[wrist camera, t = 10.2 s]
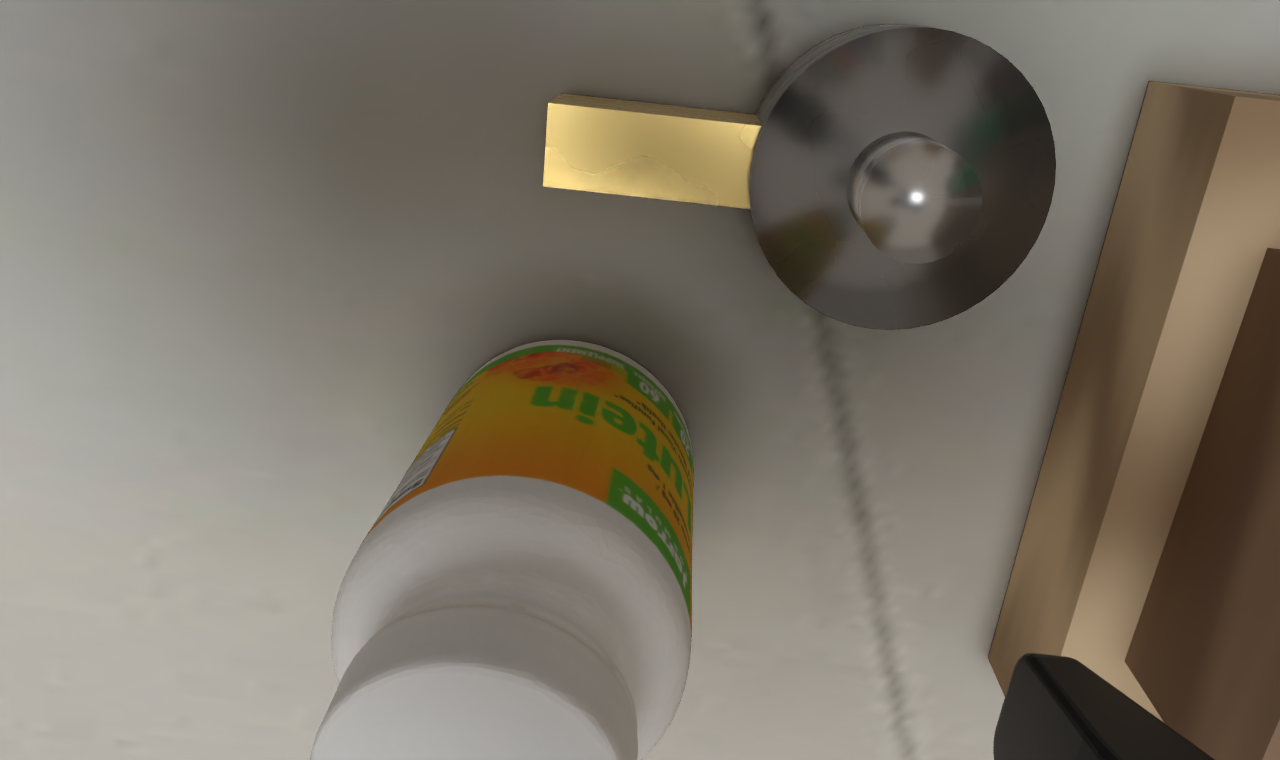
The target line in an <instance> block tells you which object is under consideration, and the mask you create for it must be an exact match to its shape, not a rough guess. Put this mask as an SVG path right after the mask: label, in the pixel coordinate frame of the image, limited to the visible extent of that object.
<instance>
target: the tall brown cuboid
mask: <svg viewBox="0 0 1280 760" xmlns="http://www.w3.org/2000/svg"><path fill="white" fill-rule="evenodd" d="M1125 663H1126V664H1127V666H1128V667H1129V669H1130V671H1131V672H1132V674H1133V675H1134V677H1135V678H1136V680H1137V681H1138V683H1139V684H1140V686H1141V688H1142V689H1143V691H1144V692H1145V694H1146V695H1147V697H1148V698H1149V700H1150V701H1151V703H1152V705H1153V706H1154V708H1155V709H1156V711H1157V712H1158V714H1159V715H1160V717H1161V718H1162V720H1163V722H1164V723H1165V724H1166V725H1168V726H1169V727H1171V728H1172V729H1173V730H1175V731H1176V732H1178V733H1179V734H1180V735H1182V736H1183V737H1184V738H1186V739H1187V740H1189V741H1190V742H1191V743H1193V744H1194V745H1196V746H1197V747H1198V748H1200V749H1201V750H1202V751H1204V752H1205V753H1207V754H1208V755H1209V756H1211V757H1212V758H1214V759H1215V760H1280V249H1275V248H1267V250H1266V253H1265V256H1264V259H1263V262H1262V265H1261V267H1260V270H1259V273H1258V276H1257V279H1256V282H1255V285H1254V288H1253V291H1252V293H1251V296H1250V299H1249V302H1248V305H1247V308H1246V311H1245V314H1244V317H1243V319H1242V322H1241V325H1240V328H1239V331H1238V334H1237V337H1236V340H1235V343H1234V345H1233V348H1232V351H1231V354H1230V357H1229V360H1228V363H1227V366H1226V369H1225V372H1224V374H1223V377H1222V380H1221V383H1220V386H1219V389H1218V392H1217V395H1216V398H1215V400H1214V403H1213V406H1212V409H1211V412H1210V415H1209V418H1208V421H1207V424H1206V426H1205V429H1204V432H1203V435H1202V438H1201V441H1200V444H1199V447H1198V450H1197V452H1196V455H1195V458H1194V461H1193V464H1192V467H1191V470H1190V473H1189V476H1188V478H1187V481H1186V484H1185V487H1184V490H1183V493H1182V496H1181V499H1180V502H1179V505H1178V507H1177V510H1176V513H1175V516H1174V519H1173V522H1172V525H1171V528H1170V531H1169V533H1168V536H1167V539H1166V542H1165V545H1164V548H1163V551H1162V554H1161V557H1160V559H1159V562H1158V565H1157V568H1156V571H1155V574H1154V577H1153V580H1152V583H1151V585H1150V588H1149V591H1148V594H1147V597H1146V600H1145V603H1144V606H1143V609H1142V612H1141V614H1140V617H1139V620H1138V623H1137V626H1136V629H1135V632H1134V635H1133V638H1132V640H1131V643H1130V646H1129V649H1128V652H1127V655H1126V658H1125Z"/></svg>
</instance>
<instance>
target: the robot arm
mask: <svg viewBox="0 0 1280 760" xmlns="http://www.w3.org/2000/svg"><path fill="white" fill-rule="evenodd" d="M993 751H994V760H1215V759H1214V758H1212V757H1211V756H1209V755H1208V754H1207V753H1205V752H1204V751H1202V750H1201V749H1200V748H1198V747H1197V746H1196V745H1194V744H1193V743H1191V742H1190V741H1189V740H1187V739H1186V738H1184V737H1183V736H1182V735H1180V734H1179V733H1178V732H1176V731H1175V730H1173V729H1172V728H1171V727H1169V726H1168V725H1166V724H1165V723H1164V722H1162V721H1161V720H1160V719H1158V718H1157V717H1155V716H1154V715H1153V714H1151V713H1150V712H1148V711H1147V710H1146V709H1144V708H1143V707H1142V706H1140V705H1139V704H1137V703H1136V702H1135V701H1133V700H1132V699H1130V698H1129V697H1128V696H1126V695H1125V694H1124V693H1122V692H1121V691H1119V690H1118V689H1117V688H1115V687H1114V686H1112V685H1111V684H1110V683H1108V682H1107V681H1106V680H1104V679H1103V678H1101V677H1100V676H1099V675H1097V674H1096V673H1095V672H1093V671H1092V670H1090V669H1089V668H1088V667H1086V666H1085V665H1083V664H1082V663H1081V662H1079V661H1078V660H1076V659H1073V658H1070V657H1065V656H1056V655H1047V654H1038V653H1026V654H1024V655H1023V656H1021V657H1020V658H1019V659H1018V661H1017V662H1016V664H1015V666H1014V669H1013V672H1012V676H1011V679H1010V682H1009V686H1008V689H1007V693H1006V696H1005V699H1004V703H1003V706H1002V710H1001V713H1000V716H999V720H998V723H997V727H996V730H995V735H994V749H993Z"/></svg>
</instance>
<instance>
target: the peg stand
mask: <svg viewBox="0 0 1280 760" xmlns="http://www.w3.org/2000/svg"><path fill="white" fill-rule="evenodd" d="M1267 248H1275V249H1280V95H1275V94H1266V93H1256V92H1247V91H1238V90H1228V89H1219V88H1210V87H1200V86H1191V85H1182V84H1173V83H1163V82H1154V81H1149V84H1148V88H1147V92H1146V95H1145V99H1144V102H1143V106H1142V109H1141V113H1140V117H1139V120H1138V124H1137V127H1136V131H1135V134H1134V138H1133V142H1132V145H1131V149H1130V152H1129V156H1128V159H1127V163H1126V167H1125V170H1124V174H1123V177H1122V181H1121V185H1120V188H1119V192H1118V195H1117V199H1116V202H1115V206H1114V210H1113V213H1112V217H1111V220H1110V224H1109V227H1108V231H1107V235H1106V238H1105V242H1104V245H1103V249H1102V252H1101V256H1100V260H1099V263H1098V267H1097V270H1096V274H1095V278H1094V281H1093V285H1092V288H1091V292H1090V295H1089V299H1088V303H1087V306H1086V310H1085V313H1084V317H1083V320H1082V324H1081V328H1080V331H1079V335H1078V338H1077V342H1076V346H1075V349H1074V353H1073V356H1072V360H1071V363H1070V367H1069V371H1068V374H1067V378H1066V381H1065V385H1064V388H1063V392H1062V396H1061V399H1060V403H1059V406H1058V410H1057V413H1056V417H1055V421H1054V424H1053V428H1052V431H1051V435H1050V439H1049V442H1048V446H1047V449H1046V453H1045V456H1044V460H1043V464H1042V467H1041V471H1040V474H1039V478H1038V481H1037V485H1036V489H1035V492H1034V496H1033V499H1032V503H1031V506H1030V510H1029V514H1028V517H1027V521H1026V524H1025V528H1024V532H1023V535H1022V539H1021V542H1020V546H1019V549H1018V553H1017V557H1016V560H1015V564H1014V567H1013V571H1012V574H1011V578H1010V582H1009V585H1008V589H1007V592H1006V596H1005V599H1004V603H1003V607H1002V610H1001V614H1000V617H999V621H998V625H997V628H996V632H995V635H994V639H993V642H992V646H991V650H990V653H989V657H988V659H989V662H990V664H991V666H992V668H993V671H994V673H995V675H996V678H997V680H998V682H999V684H1000V687H1001V689H1002V691H1003V693H1004V696H1006V693H1007V689H1008V686H1009V682H1010V679H1011V676H1012V672H1013V669H1014V666H1015V664H1016V662H1017V661H1018V659H1019V658H1020V657H1021V656H1023V655H1024V654H1026V653H1038V654H1047V655H1056V656H1065V657H1070V658H1073V659H1076V660H1078V661H1079V662H1081V663H1082V664H1083V665H1085V666H1086V667H1088V668H1089V669H1090V670H1092V671H1093V672H1095V673H1096V674H1097V675H1099V676H1100V677H1101V678H1103V679H1104V680H1106V681H1107V682H1108V683H1110V684H1111V685H1112V686H1114V687H1115V688H1117V689H1118V690H1119V691H1121V692H1122V693H1124V694H1125V695H1126V696H1128V697H1129V698H1130V699H1132V700H1133V701H1135V702H1136V703H1137V704H1139V705H1140V706H1142V707H1143V708H1144V709H1146V710H1147V711H1148V712H1150V713H1151V714H1153V715H1154V716H1155V717H1157V718H1158V719H1160V720H1161V721H1162V722H1163V720H1162V718H1161V717H1160V715H1159V714H1158V712H1157V711H1156V709H1155V708H1154V706H1153V705H1152V703H1151V701H1150V700H1149V698H1148V697H1147V695H1146V694H1145V692H1144V691H1143V689H1142V688H1141V686H1140V684H1139V683H1138V681H1137V680H1136V678H1135V677H1134V675H1133V674H1132V672H1131V671H1130V669H1129V667H1128V666H1127V664H1126V663H1125V658H1126V655H1127V652H1128V649H1129V646H1130V643H1131V640H1132V638H1133V635H1134V632H1135V629H1136V626H1137V623H1138V620H1139V617H1140V614H1141V612H1142V609H1143V606H1144V603H1145V600H1146V597H1147V594H1148V591H1149V588H1150V585H1151V583H1152V580H1153V577H1154V574H1155V571H1156V568H1157V565H1158V562H1159V559H1160V557H1161V554H1162V551H1163V548H1164V545H1165V542H1166V539H1167V536H1168V533H1169V531H1170V528H1171V525H1172V522H1173V519H1174V516H1175V513H1176V510H1177V507H1178V505H1179V502H1180V499H1181V496H1182V493H1183V490H1184V487H1185V484H1186V481H1187V478H1188V476H1189V473H1190V470H1191V467H1192V464H1193V461H1194V458H1195V455H1196V452H1197V450H1198V447H1199V444H1200V441H1201V438H1202V435H1203V432H1204V429H1205V426H1206V424H1207V421H1208V418H1209V415H1210V412H1211V409H1212V406H1213V403H1214V400H1215V398H1216V395H1217V392H1218V389H1219V386H1220V383H1221V380H1222V377H1223V374H1224V372H1225V369H1226V366H1227V363H1228V360H1229V357H1230V354H1231V351H1232V348H1233V345H1234V343H1235V340H1236V337H1237V334H1238V331H1239V328H1240V325H1241V322H1242V319H1243V317H1244V314H1245V311H1246V308H1247V305H1248V302H1249V299H1250V296H1251V293H1252V291H1253V288H1254V285H1255V282H1256V279H1257V276H1258V273H1259V270H1260V267H1261V265H1262V262H1263V259H1264V256H1265V253H1266V250H1267Z"/></svg>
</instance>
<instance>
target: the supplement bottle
mask: <svg viewBox="0 0 1280 760" xmlns="http://www.w3.org/2000/svg"><path fill="white" fill-rule="evenodd" d="M693 488H694V468H693V452H692V445H691V439H690V436H689V432H688V429H687V426H686V423H685V420H684V418H683V416H682V414H681V412H680V410H679V408H678V406H677V404H676V403H675V401H674V400H673V398H672V397H671V395H670V394H669V392H668V391H667V390H666V388H665V387H664V386H663V385H662V384H661V383H660V382H659V381H658V380H657V379H656V378H655V377H654V376H653V375H652V374H651V373H650V372H649V371H647V370H646V369H645V368H644V367H642V366H641V365H639V364H638V363H636V362H635V361H633V360H631V359H630V358H628V357H626V356H624V355H623V354H621V353H618V352H616V351H613V350H611V349H608V348H605V347H603V346H600V345H596V344H592V343H587V342H582V341H574V340H547V341H539V342H533V343H529V344H525V345H522V346H519V347H516V348H513V349H511V350H509V351H506V352H504V353H502V354H500V355H499V356H497V357H495V358H493V359H492V360H490V361H489V362H487V363H486V364H485V365H483V366H482V367H481V368H480V369H478V370H477V371H476V372H475V373H474V374H473V375H472V376H471V377H470V378H469V379H468V380H467V381H466V382H465V384H464V385H463V386H462V387H461V388H460V390H459V391H458V392H457V394H456V395H455V396H454V398H453V399H452V401H451V402H450V403H449V405H448V407H447V408H446V410H445V412H444V413H443V415H442V416H441V418H440V420H439V421H438V423H437V424H436V426H435V428H434V429H433V431H432V433H431V434H430V435H429V437H428V439H427V440H426V442H425V444H424V445H423V447H422V448H421V450H420V452H419V453H418V455H417V457H416V458H415V460H414V461H413V463H412V465H411V466H410V468H409V469H408V470H407V472H406V474H405V476H404V477H403V479H402V480H401V482H400V484H399V486H398V487H397V489H396V490H395V492H394V493H393V495H392V497H391V499H390V500H389V502H388V503H387V505H386V506H385V508H384V510H383V511H382V513H381V515H380V516H379V518H378V519H377V520H376V522H375V523H374V525H373V527H372V528H371V530H370V531H369V532H368V534H367V536H366V537H365V539H364V540H363V542H362V544H361V546H360V547H359V549H358V551H357V553H356V555H355V556H354V558H353V560H352V562H351V564H350V566H349V568H348V570H347V572H346V574H345V576H344V578H343V581H342V584H341V587H340V589H339V592H338V595H337V599H336V603H335V608H334V613H333V624H332V656H333V662H334V667H335V672H336V675H337V678H338V681H339V686H338V689H337V691H336V693H335V695H334V697H333V700H332V702H331V704H330V706H329V708H328V710H327V712H326V715H325V717H324V719H323V721H322V723H321V725H320V727H319V729H318V732H317V734H316V737H315V741H314V744H313V749H312V753H311V757H310V760H642V759H643V758H644V757H645V756H646V755H647V754H648V753H649V752H650V751H651V749H652V748H653V747H654V746H655V745H656V744H657V742H658V741H659V740H660V739H661V737H662V736H663V734H664V733H665V731H666V730H667V728H668V727H669V725H670V723H671V721H672V719H673V717H674V715H675V713H676V711H677V708H678V706H679V704H680V701H681V698H682V694H683V691H684V688H685V683H686V679H687V675H688V669H689V662H690V652H691V636H692V532H693Z"/></svg>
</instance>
